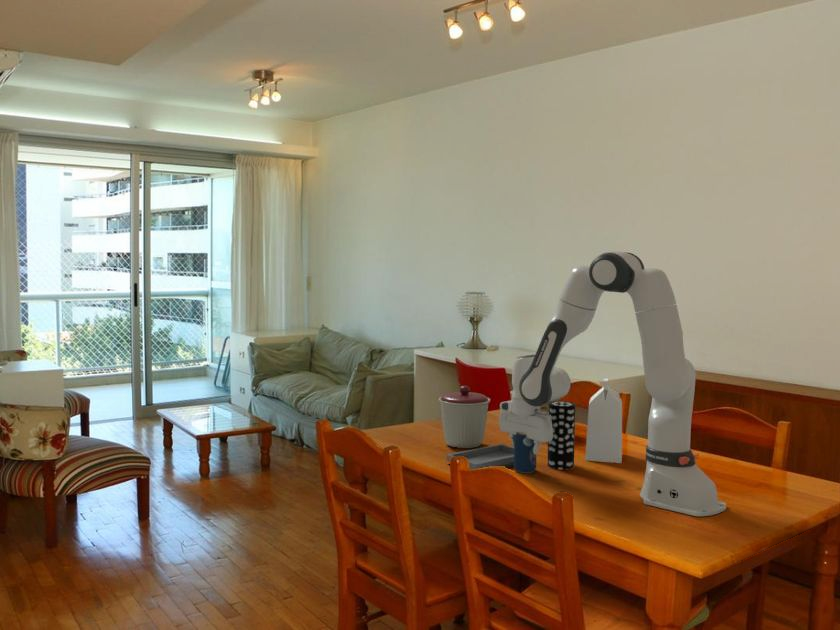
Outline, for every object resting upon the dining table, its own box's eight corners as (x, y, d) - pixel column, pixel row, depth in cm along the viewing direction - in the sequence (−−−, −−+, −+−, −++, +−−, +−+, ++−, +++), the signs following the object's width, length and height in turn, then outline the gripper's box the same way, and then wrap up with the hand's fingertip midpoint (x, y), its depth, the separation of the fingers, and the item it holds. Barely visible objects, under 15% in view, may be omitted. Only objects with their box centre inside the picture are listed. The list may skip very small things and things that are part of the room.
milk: (587, 451, 254) (589, 376, 252) (622, 453, 251) (624, 377, 249) (585, 460, 242) (587, 381, 240) (621, 463, 239) (623, 383, 237)
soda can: (536, 474, 226) (537, 435, 225) (513, 473, 227) (514, 434, 226) (536, 467, 233) (537, 430, 232) (513, 466, 234) (514, 429, 233)
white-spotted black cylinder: (573, 470, 230) (575, 407, 229) (546, 468, 232) (548, 405, 231) (573, 463, 239) (575, 402, 237) (547, 461, 240) (549, 400, 239)
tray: (531, 461, 240) (531, 452, 240) (475, 474, 226) (475, 464, 225) (501, 452, 251) (501, 443, 251) (446, 463, 237) (446, 454, 237)
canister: (461, 436, 274) (462, 379, 272) (500, 445, 261) (501, 386, 259) (427, 444, 261) (428, 385, 259) (466, 454, 248) (467, 392, 246)
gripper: (558, 411, 222) (557, 456, 223) (510, 400, 238) (509, 442, 239) (543, 413, 218) (542, 459, 219) (496, 402, 234) (495, 445, 235)
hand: (525, 450), depth 229 cm, fingers closed on soda can, 7 cm apart
